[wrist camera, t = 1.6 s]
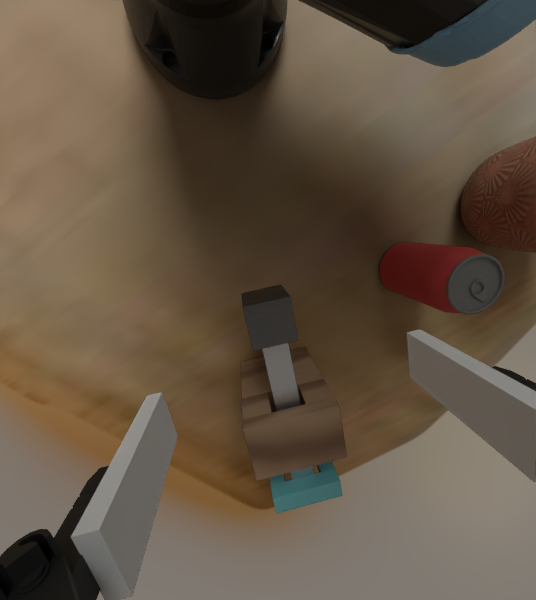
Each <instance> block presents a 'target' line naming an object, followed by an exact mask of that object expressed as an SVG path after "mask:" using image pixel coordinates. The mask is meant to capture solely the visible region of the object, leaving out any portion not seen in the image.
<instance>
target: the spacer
mask: <svg viewBox="0 0 536 600" xmlns="http://www.w3.org/2000/svg"><path fill="white" fill-rule="evenodd" d="M317 467H318V470H319V473H315V474H311V475H308V476H304V477H300V478H296V479H293V480H289V481H285V477H284V474H281V475H278V476H274V477H270V482H271V490H272V497H273V502H274V506H275V509H276V513H280V512H284V511H288V510H291V509H295V508H299V507H302V506H306V505H309V504H313V503H317V502H321V501H325V500H328V499H331V498H335V497H339V496H342V490H341V484H340V480H339V477H338V475H337V472H336V470H335V467H334V465H333V462H332V461H331V462H327V463H323V464H319V465H317Z"/></svg>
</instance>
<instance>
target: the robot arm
mask: <svg viewBox="0 0 536 600" xmlns="http://www.w3.org/2000/svg"><path fill="white" fill-rule="evenodd" d="M299 1H301V2H303V3H305V4H307V5H309V6H311V7H313V8H315V9H317V10H319V11H321V12H323V13H325V14H327V15H329V16H331V17H333V18H335V19H337V20H339V21H341V22H343V23H345V24H347V25H348V26H350V27H352V28H354V29H356V30H358V31H360V32H362V33H364V34H366V35H367V36H369V37H371V38H373V39H375V40H377V41H379V42H381V43H383V44H384V45H385V46H386V47H387V48H388V49H389V50H390V51H391V52H393V53H396V54H409V55H411V56H413V57H416V58H418V59H420V60H423V61H425V62H428V63H430V64H432V65H436V66H441V67H448V66H456V65H458V64H461V63H463V62H466V61H467V60H470V59H476V58H478V57H480V56H482V55H484V54H486V53H488V52H490V51H491V50H493V49H495V48H496V47H498V46H500V45H501V44H503V43H504V42H506V41H507V40H509V39H510V38H512V37H513V36H514V35H516V34H517V33H519V32H520V31H521V30H523V29H524V28H525V27H527V26H528V25H529V24H530V23H532V22H533V21H534V20H535V19H536V0H299ZM123 4H124V7H125V11H126V14H127V17H128V20H129V22H130V25H131V27H132V29H133V32H134V33H135V35H136V37H137V39H138V41H139V43H140V45H141V47H142V49H143V51H144V52H145V54H146V56H147V57H148V59H149V60H150V62H151V63H152V64H153V66H154V67H155V68H156V69H157V70H158V71H159V72H160V73H161V74H162V75H163V76H164V77H165V78H166V79H167V80H168V81H169V82H171V83H172V84H173V85H175V86H176V87H178V88H180V89H181V90H183V91H185V92H188V93H190V94H192V95H195V96H199V97H203V98H210V99H221V98H228V97H232V96H235V95H238V94H241V93H243V92H245V91H246V90H248V89H250V88H251V87H252V86H254V85H255V84H256V83H257V82H258V81H260V79H261V78H262V77H263V76H264V75H265V74H266V72H267V71H268V70H269V68H270V67H271V65H272V63H273V61H274V59H275V57H276V55H277V52H278V50H279V47H280V43H281V39H282V35H283V31H284V26H285V21H286V14H287V0H123ZM407 345H408V358H409V372H410V378H411V379H412V380H414V381H415V382H416V383H417V384H418V385H419V386H421V387H422V388H423V389H424V390H425V391H427V392H428V393H429V394H430V395H431V396H433V397H434V398H435V399H436V400H437V401H438V402H440V403H441V404H442V405H443V406H444V407H446V408H447V409H448V410H449V411H450V412H451V413H453V414H454V415H455V416H456V417H457V418H459V419H460V420H461V421H462V422H463V423H465V424H466V425H467V426H468V427H469V428H470V429H472V430H473V431H474V432H475V433H476V434H478V435H479V436H480V437H481V438H482V439H483V440H485V441H486V442H487V443H488V444H489V445H491V446H492V447H493V448H494V449H495V450H496V451H498V452H499V453H500V454H501V455H502V456H504V457H505V458H506V459H507V460H508V461H509V462H511V463H512V464H513V465H514V466H515V467H517V468H518V469H519V470H520V471H521V472H523V473H524V474H525V475H526V476H527V477H529V478H530V479H531V480H532V481H533V482H536V383H534V382H532V381H530V380H528V379H527V380H526V379H525V378H524V377H522V376H520V375H518V374H516V373H514V372H512V371H510V370H506V369H503V368H499V367H496V366H494V367H490V366H488V365H486V364H484V363H482V362H480V361H478V360H476V359H475V358H473V357H471V356H469V355H467V354H465V353H463V352H462V351H460V350H458V349H456V348H454V347H452V346H450V345H448V344H447V343H445V342H443V341H441V340H439V339H437V338H435V337H434V336H432V335H430V334H428V333H426V332H424V331H422V330H421V329H419V330H415V331H411V332H407ZM177 437H178V436H177V433H176V430H175V427H174V424H173V421H172V419H171V416H170V413H169V410H168V407H167V404H166V402H165V399H164V396H163V393H162V392H160V393H156V394H151V395H147V397H146V398H145V400H144V402H143V404H142V406H141V408H140V410H139V411H138V413H137V415H136V417H135V419H134V421H133V423H132V424H131V426H130V428H129V430H128V432H127V434H126V436H125V437H124V439H123V441H122V443H121V445H120V447H119V449H118V450H117V453H116V454H115V456H114V458H113V460H112V462H111V463H110V465H109V466H106V467H102V468H100V469H98V471H97V472H96V473H95V474H94V475H93V476H92V477H91V478H90V479H89V480H88V481H87V483H86V485H85V486H84V488H83V490H82V492H81V493H80V497H78V498H77V500H76V502H75V503H74V505H73V509H71V510H70V512H69V514H68V515H67V517H66V518H65V520H64V522H63V524H62V525H61V527H60V529H59V530H58V532H57V534H56V536H55V537H54V538H53V537H52V535H51V533H50V532H49V531H48V530H47V529H39V530H36V531H34V532H31V533H29V534H27V535H25V536H24V537H22V538H21V539H19V540H17V541H16V542H15V543H14V544H13V545H11V546H10V547H9V548H8V549H7V550H6V551H5V552H4V553H3V554H2V555H1V556H0V600H96V599H97V596H98V594H99V591H100V592H101V594H102V595H103V597H104V599H105V600H120V599H124V598H127V597H131V596H133V592H134V589H135V585H136V582H137V578H138V575H139V571H140V567H141V564H142V561H143V557H144V553H145V550H146V546H147V543H148V539H149V536H150V532H151V529H152V525H153V522H154V518H155V515H156V511H157V507H158V504H159V501H160V497H161V493H162V490H163V486H164V483H165V479H166V476H167V472H168V469H169V465H170V462H171V458H172V455H173V451H174V447H175V444H176V440H177Z"/></svg>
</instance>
